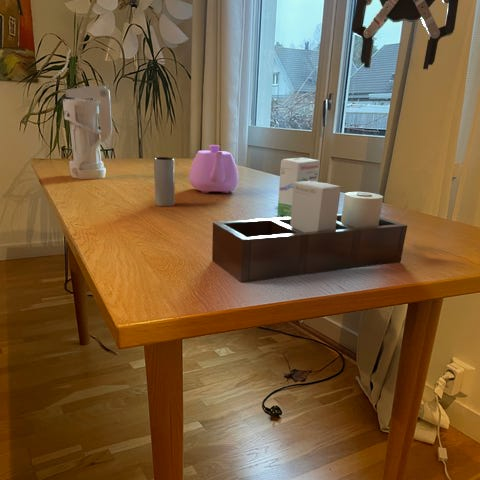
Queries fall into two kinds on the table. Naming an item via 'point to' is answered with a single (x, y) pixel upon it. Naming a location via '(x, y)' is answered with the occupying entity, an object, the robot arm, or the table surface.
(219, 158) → the teapot
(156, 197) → the grey cylinder
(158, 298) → the table surface
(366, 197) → the towel roll
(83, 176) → the lantern
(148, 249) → the table surface
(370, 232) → the box
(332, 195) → the cosmetic box
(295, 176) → the ink box
